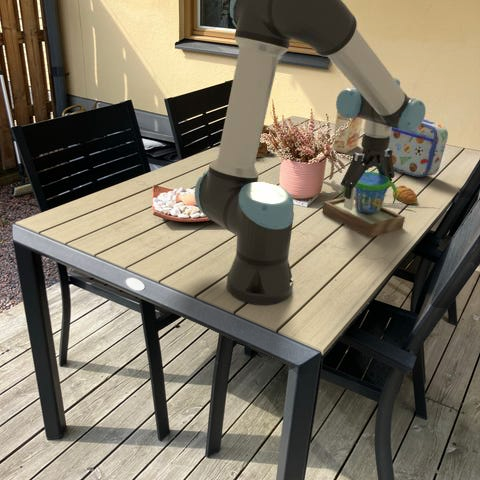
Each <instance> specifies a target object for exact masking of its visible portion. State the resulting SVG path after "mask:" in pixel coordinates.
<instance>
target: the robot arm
mask: <svg viewBox="0 0 480 480" xmlns="http://www.w3.org/2000/svg"><path fill="white" fill-rule="evenodd" d="M229 14H230V18H231V19H232V21H231V22H232V24H233V25H234V27H235V33H234V37H233V39H234V40H235V42H236V44H237V46H238V48H239V50H238V54H237V60H236V65H235V69H234V74H233V79H232V85H231V88H230V89H231V91H230V95H229V100H228V104H227V105H228V106H227V110H226V114H225V120H224V124H223V129H222V134H221V139H220V143H219V144H220V145H219V149H218V154H217V157H216V159H214V160H213V161H211V162H210V163H209V166H208V170H206V171H204V172H203V173H202V176H200V177H199V178H198V180H196V181H197V182H196V184H195V188H194V201H195V204H196V206H197V208H198V209H199V211H200V212H201V213H202V214H203V215H205V216H206V218H208V219H209V220H210V221H211V222H214V223H216V224H217V225H219V226H221V227H222V228H223V229H225V230H227V231H228V232H229V233H232V234H233V235H235V236H236V249H235V250H236V251H235V257H234V260H233V261H232V265H231V266H230V268H229V271H228V272H227V275H226V288H227V291H228V292H229V293H230V294H231V296H232V297H234V298H236V299H238V300H240V301H242V302H245V303H248V304H253V305H259V306H260V305H263V306H264V305H274V304H279V303H281V302H284V301H285V300H287V299H288V298H290V296H291V295H292V293H293V287H294V279H293V276H292V270H291V266H290V261H289V255H290V252H289V251H290V246H291V239H292V238H291V237H292V231H293V223H294V216H295V211H294V199H293V197H292V195H291V194H290V193H289V192H288V191H287V190H286V189H285V188H283V187H281V186H279V185H278V184H277V185H276V184H274V183H271V184H269V183H268V182H263V181H259V176H260V174H259V172H258V170H257V168H256V166H255V165H256V159H257V152H258V147H259V143H260V138H261V134H262V130H263V125H265V120H266V115H267V112H268V111H267V110H268V107H269V102H270V99H271V98H270V97H271V93H272V90H273V86H274V81H275V76H276V73H277V67H278V63H279V60H280V59H279V58H280V57H281V56H282V55H284V54H286V53H287V52H288V50H289V48H290V42H291V40H292V41H295V42H296V41H297V42H299V43H302V44H304V45H307V46H309V47H310V48H312V49H313V51H314V52H315V53H316V54H318V55H319V56H321V57H327V58H328V59H329V60H330V61H331V62H332V63H333V64H334V65H335V67H336V68H337V69H338V70H339V71H340V73H342V74H343V77H345V78H346V80H348V81H349V83H350V84H352V87H349V88H345V89H343V90H341V91H340V92H339V93H338V95H337V97H336V104H335V106H336V112H337V111H338V113H339V114H340V115H341V116H342V117H344V118H351V119H353V118H361V119H362V120H365V121H364V125H363V134H362V137H361V138H362V139H361V142H360V143H361V144H360V145H361V148H362V152H361V153H358V152H354V153H353V155H352V159H351V162H350V164H349V166H348V168H347V169H346V172H345V174H344V175H343V178H342V180H341V182H340V185H341V186H343V188H344V187H346V190H345V196H344V197H345V202H344V207H345V208H347V209H349V210H352V208H353V202H354V196H355V190H356V189H355V188H354V187H355V185H356V184H357V182H358V181H359V180H360V178H361V177H362V175H363V174H364V172H367V171H368V170H369V169H371V168H374V167H375V168H376V169H377V173H379V174H382V175H384V176H387V177H388V178H389V180H390V181H391V182H392V181H393V179H395V170H394V168H393V161H392V152H393V151H392V150H391V149H388V146H389V141H390V137H389V135H390V134H391V130H392V127H393V128H396V129H398V130H405V131H414V130H416V129H417V128H418V127H419V126H420V125H421V123H422V121H423V120H424V119H425V117H426V105H425V104H424V102H423V101H421V100H418V99H416V98H414V97H413V98H411V97H409V96H408V95H407V94H406V93H405V91H404V90H403V89H402V87H401V81H400V80H399V79H398V78H395V77H393V76H392V73H390V71H389V70H388V69H387V67H386V66H385V64H384V63H383V61H381V59H380V58H379V57H378V56H377V54H376V53H375V51H374V50H373V48H372V47H371V46H370V45H369V44H368V42H367V40H365V38H364V36H362V34H361V33H360V32H359V30H358V22H357V19H356V17H355V15H354V14H353V13H352V11H351V10H350V9H349V8H348V6H347V5H346V4H345V2H343V0H230V2H229ZM385 197H386V195H385V196H384V200H383V203H384V201H385Z"/></svg>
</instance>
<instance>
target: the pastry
mask: <svg viewBox="0 0 480 480" xmlns="http://www.w3.org/2000/svg"><path fill="white" fill-rule="evenodd" d="M396 189H397V197H396V200H398V201H400V202H402V203H403V204H408V205H411V204H416V203H417V202H418V196H417V194H416V193H415V192H414V190H413V189H412V188H409V187H407V186H405V185H398V186H397V187H396ZM392 195H393V198H394V197H395V192H394V190H393V189H392Z"/></svg>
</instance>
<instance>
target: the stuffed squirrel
mask: <svg viewBox="0 0 480 480" xmlns="http://www.w3.org/2000/svg"><path fill="white" fill-rule="evenodd" d="M269 129H270V131H271V133H272V134H273V135H274V137H275V138H276V137H277V138H278V135H277V134H278V133H277V131H276V130H274V129H272V128H269V125H266V124H264V125H263V130H262V134H263V133H267V134H269ZM275 131H276V132H275ZM276 133H277V134H276ZM268 152H269V151H268V150H267V144H266V143H261V142H260V143H259V147H258V152H257V156H256V158H259V157H261V158H263V156H264V157H266V156H267V154H268ZM265 155H266V156H265Z"/></svg>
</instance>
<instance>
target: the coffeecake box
mask: <svg viewBox="0 0 480 480" xmlns="http://www.w3.org/2000/svg"><path fill="white" fill-rule="evenodd" d="M335 118H336V119H335V124H334V130H333V131H334V132H333V135H334V134H335V133H336V131H337V130H338V129H339V128H340V127H341V126H343V125H344V124H346V123H347V122H348V121H349V120H350V118H344V117H342V116H341V115H340V114H339V113H338V111H337V110H336V116H335ZM362 121H363V119H361V118H353V119H351V120H350V122H349V124H348V128H347V129H345V130H344V131H342V132H341V133H340V135H339V136H338V138H337V139H336V140H335V142H334V144H333V143H332V144H333V146H332V145H331V148H332V147H333V148H334V150H335V152H339V153H343V154H347V153H349V152H350V151H352V150H353V149H355V148H357V147H358V145H359V141H360V133H361V129H362V128H361V127H362ZM334 150H333V151H334Z"/></svg>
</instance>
